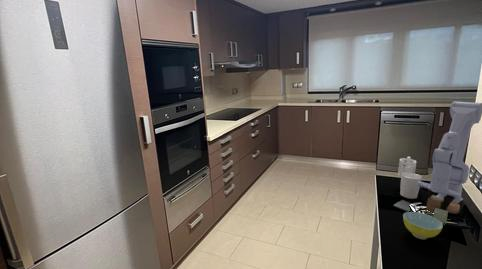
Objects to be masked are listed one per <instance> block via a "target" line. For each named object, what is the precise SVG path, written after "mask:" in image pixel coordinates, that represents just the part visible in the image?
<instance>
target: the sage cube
mask: <svg viewBox="0 0 482 269" xmlns="http://www.w3.org/2000/svg"><path fill="white" fill-rule="evenodd" d="M448 214H449V213H448V211H445V210H442V209H438V208H435V211H434V214H433V216H432V217H434V218H436V219H437V220H439V221H440V222H442V223H445V224H446V225H447V221H448V220H447V219H448ZM445 224H444V225H445Z"/></svg>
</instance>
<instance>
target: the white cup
mask: <svg viewBox="0 0 482 269" xmlns="http://www.w3.org/2000/svg"><path fill="white" fill-rule="evenodd" d="M400 178H401V179H400V192H399V194H400V196H402V197H404V198H406V199H412V200H414V199H418V195H419V192H420V191H419V190H420V188H421V187H417V184H418V182H422V179H423V178H422V176H421V175H420V174H418V173H417V174H416V173H415V174H414V173H402V174H401V177H400Z"/></svg>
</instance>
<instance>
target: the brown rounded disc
mask: <svg viewBox="0 0 482 269" xmlns="http://www.w3.org/2000/svg"><path fill="white" fill-rule="evenodd" d="M460 207H461V204H459V203H456V202H453V201H452V202H451V203H450V205H449V206H448V208H447V210H446V211H448V214H454V215H457V214H459V213H460V210H461V209H460Z"/></svg>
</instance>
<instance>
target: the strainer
mask: <svg viewBox="0 0 482 269" xmlns="http://www.w3.org/2000/svg"><path fill="white" fill-rule="evenodd" d="M416 167H417V160H415V159H412V158H411V156H407V157H406V158H405V157H403V158H399V163H398V169H397V176H398V177H399V178H401V174H402V173H414V174H416Z"/></svg>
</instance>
